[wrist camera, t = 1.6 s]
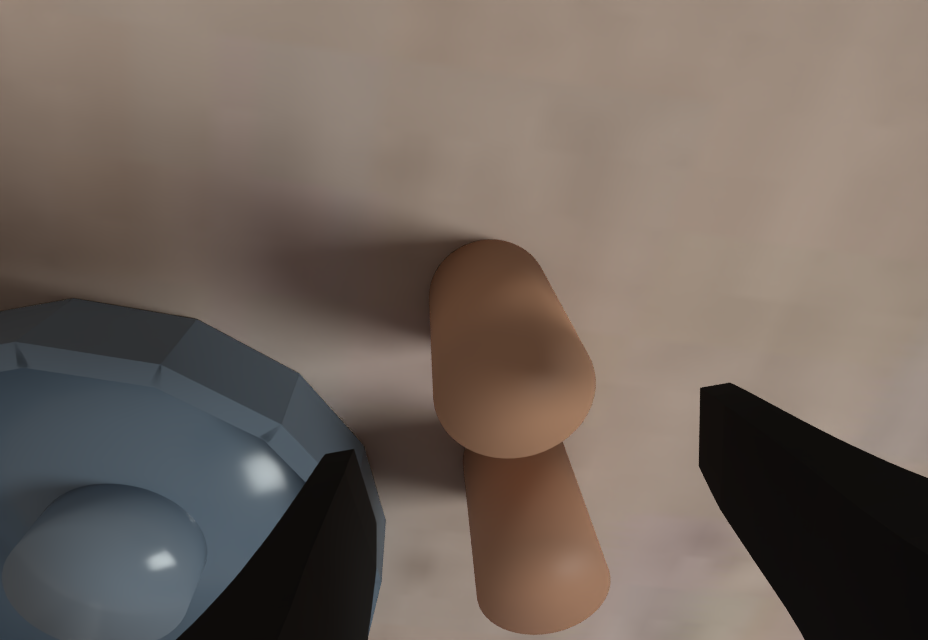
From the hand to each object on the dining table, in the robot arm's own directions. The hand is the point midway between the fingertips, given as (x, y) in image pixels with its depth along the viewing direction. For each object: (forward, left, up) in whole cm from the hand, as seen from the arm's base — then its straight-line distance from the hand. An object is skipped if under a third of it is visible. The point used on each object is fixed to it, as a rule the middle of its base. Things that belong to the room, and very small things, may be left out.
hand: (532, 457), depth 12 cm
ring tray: (-7, +15, -8) cm, 19 cm away
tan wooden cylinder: (0, 0, -8) cm, 8 cm away
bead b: (-7, 0, -8) cm, 11 cm away
